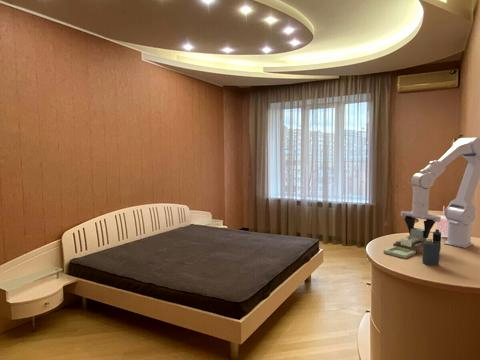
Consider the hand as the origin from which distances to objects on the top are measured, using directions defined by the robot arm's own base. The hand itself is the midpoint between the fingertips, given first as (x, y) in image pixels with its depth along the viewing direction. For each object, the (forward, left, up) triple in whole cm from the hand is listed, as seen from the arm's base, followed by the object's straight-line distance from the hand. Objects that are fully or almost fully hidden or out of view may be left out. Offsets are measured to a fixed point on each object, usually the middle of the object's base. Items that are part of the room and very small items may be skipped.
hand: (418, 236), depth 131 cm
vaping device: (+19, +12, -4) cm, 23 cm away
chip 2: (+5, 0, -2) cm, 5 cm away
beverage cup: (-24, 0, -4) cm, 25 cm away
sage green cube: (0, 0, -2) cm, 2 cm away
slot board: (+4, 0, -4) cm, 6 cm away
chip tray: (+16, 0, -4) cm, 16 cm away
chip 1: (+9, 0, -2) cm, 9 cm away
